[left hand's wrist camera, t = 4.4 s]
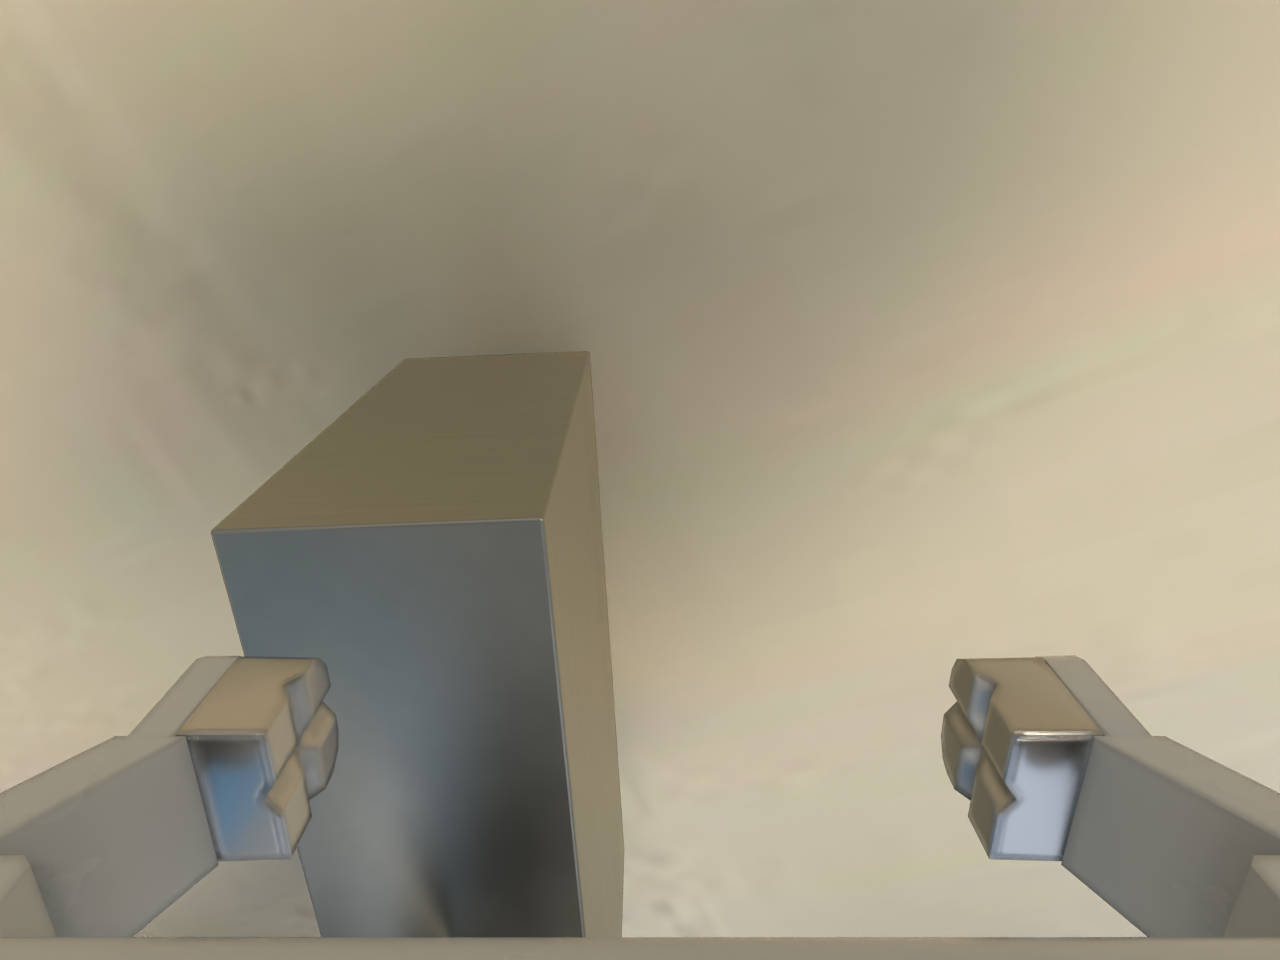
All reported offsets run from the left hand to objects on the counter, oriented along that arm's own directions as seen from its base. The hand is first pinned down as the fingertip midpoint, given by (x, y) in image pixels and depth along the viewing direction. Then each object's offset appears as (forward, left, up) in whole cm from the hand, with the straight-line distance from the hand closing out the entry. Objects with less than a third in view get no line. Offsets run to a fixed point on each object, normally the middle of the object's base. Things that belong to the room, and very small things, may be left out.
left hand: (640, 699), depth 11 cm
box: (+10, -5, -17) cm, 20 cm away
